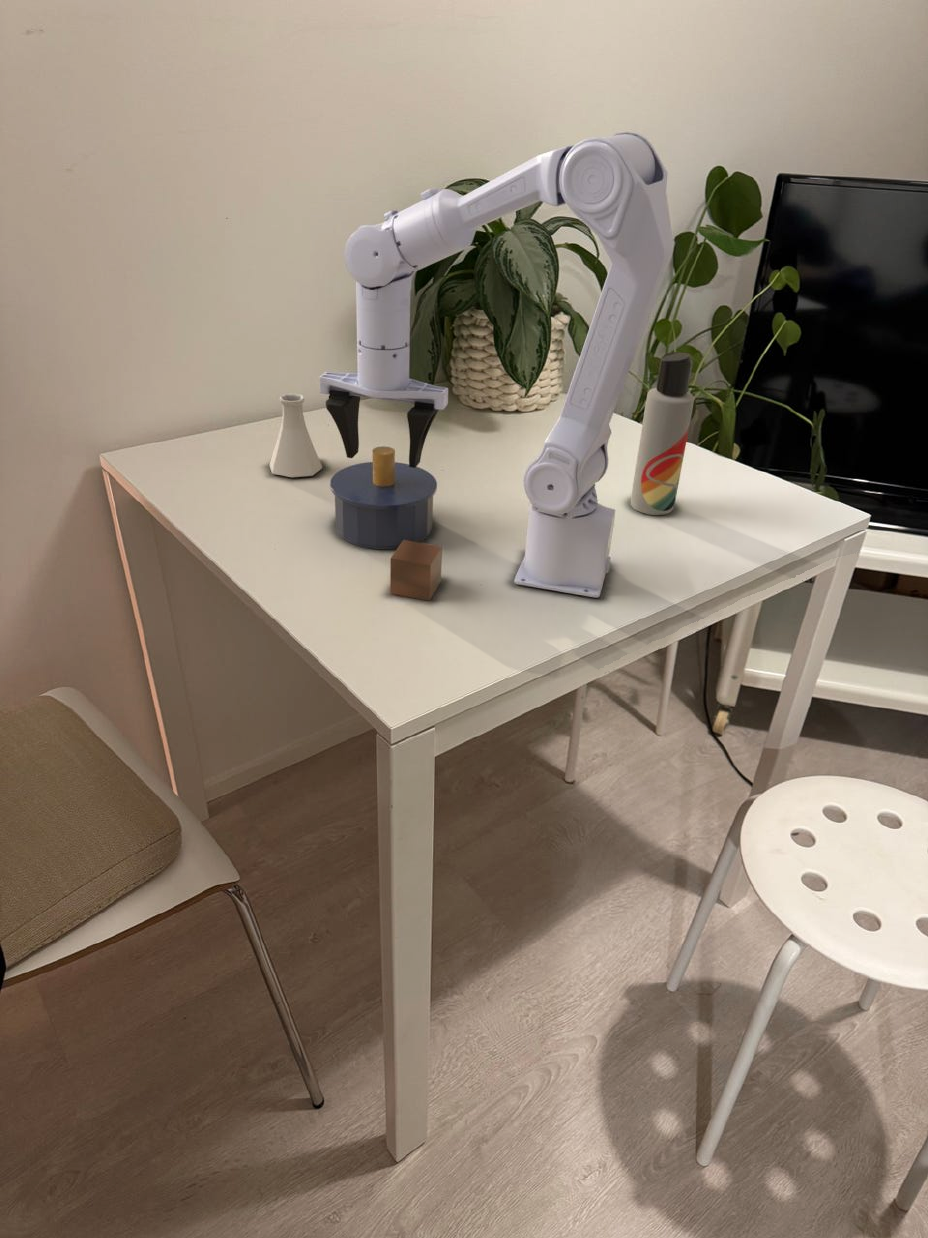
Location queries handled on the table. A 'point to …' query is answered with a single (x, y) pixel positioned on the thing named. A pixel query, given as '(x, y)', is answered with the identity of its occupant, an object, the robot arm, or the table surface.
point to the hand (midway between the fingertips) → (383, 459)
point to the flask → (294, 442)
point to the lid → (383, 483)
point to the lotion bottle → (663, 437)
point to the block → (415, 570)
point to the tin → (383, 524)
